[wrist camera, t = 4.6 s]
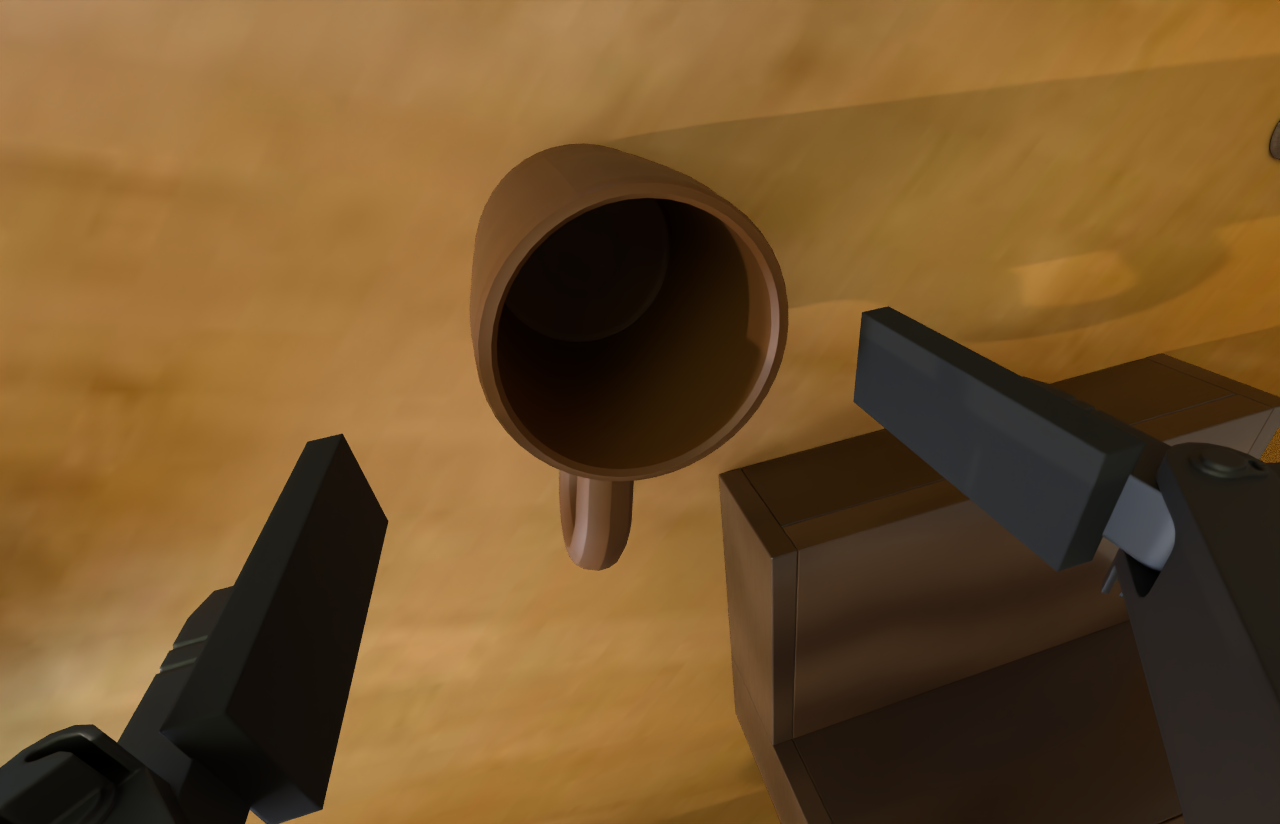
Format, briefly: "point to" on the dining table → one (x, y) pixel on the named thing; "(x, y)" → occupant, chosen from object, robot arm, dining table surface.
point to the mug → (619, 327)
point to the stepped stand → (949, 632)
